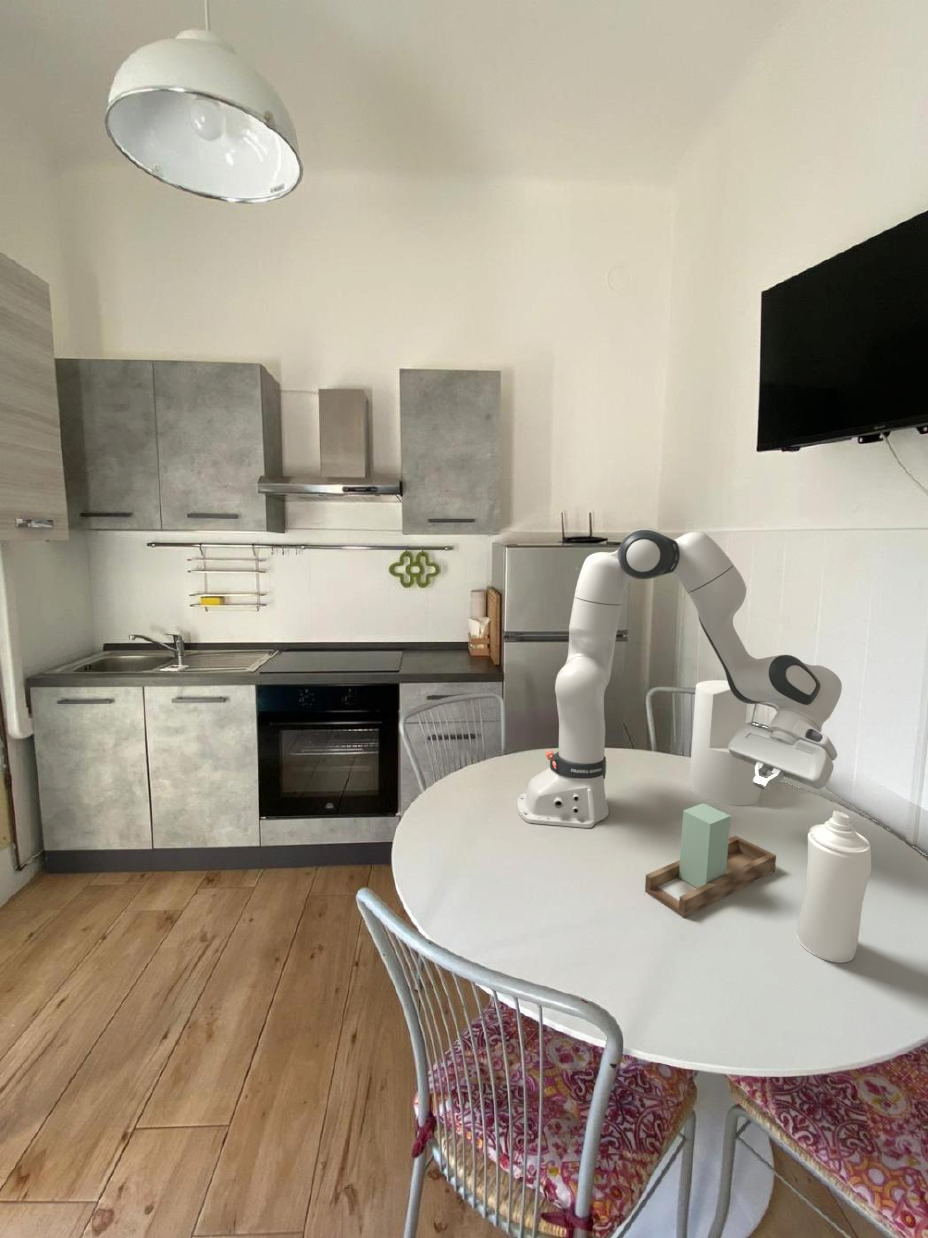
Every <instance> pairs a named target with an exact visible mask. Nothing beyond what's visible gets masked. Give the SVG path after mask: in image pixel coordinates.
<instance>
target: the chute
mask: <svg viewBox="0 0 928 1238" xmlns="http://www.w3.org/2000/svg"><path fill="white" fill-rule="evenodd" d="M776 861H777V855H776V854H774V853H772V852H770V851H768V850H766V849H764V848H762V847H760V846H758V845H756V844H754V843H752V842H749V841H748V840H746V839H743V838H742V837H741V836H737V835H734V836H732V837H729V841H728V854H727V867H726V875H724V876H722V877H719V878H717V879H715V880H713V881H711V882H709V883H707V884H705V885H703V886H701V887H699V888H696V887H694V886H693V885H691V884H690V883H688V882H686V881H685V880H683V879H681V878H680V877H679V867H680V859H679V860H677V861H675V862H673V863H670V864H668V865H665V866H663V867H661V868H658V869H656V870H654V871H652V872H649V873H647V874H645V884H644V885H645V886H644V887H645V888H644V892H645V893H647V894H648V895H650V896H651V897H652V898H654V899H655V900H656V901H658V902H660V903H661V904H662V905H664V906H665V907H667V908H669V909H670V910H671V911H673V912H674V913H676V914H678V915H679V916H680V917H681V918H683V919H686V918H687V917H689V916H691V915H693V914H695V913H697V912H698V911H701V910H703V909H704V908H706V907H709V906H710V905H712V904H714V903H716V902H719V901H720V900H721V899H724V898H726V897H728V896H729V895H732V894H733V893H735V892H738V891H739V890H741V889H743V888H745V887H747V886H749V885H751V884H753V883H755V882H757V881H759V880H761V879H763V878H764V877H767V876H768V874H769V875H770V873H771V872H772V873H774V872H775V871H776ZM772 873H771V874H772ZM758 879H759V880H758ZM756 880H757V881H756ZM754 881H755V882H754Z"/></svg>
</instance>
